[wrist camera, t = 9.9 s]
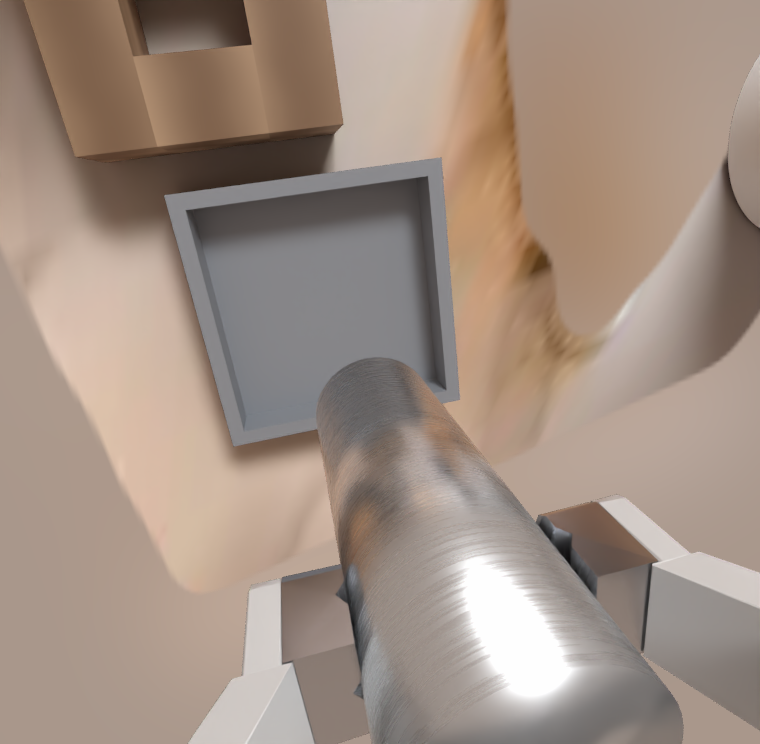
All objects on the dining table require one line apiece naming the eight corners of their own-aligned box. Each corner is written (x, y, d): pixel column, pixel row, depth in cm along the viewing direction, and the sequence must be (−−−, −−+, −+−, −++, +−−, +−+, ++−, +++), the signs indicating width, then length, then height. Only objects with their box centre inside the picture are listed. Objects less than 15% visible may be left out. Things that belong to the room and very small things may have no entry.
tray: (425, 161, 28) (441, 157, 25) (444, 382, 33) (460, 399, 30) (176, 195, 26) (163, 195, 23) (237, 424, 31) (233, 446, 28)
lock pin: (424, 347, 14) (698, 627, 5) (435, 450, 15) (669, 828, 6) (305, 369, 14) (364, 728, 4) (326, 474, 15) (406, 923, 6)
